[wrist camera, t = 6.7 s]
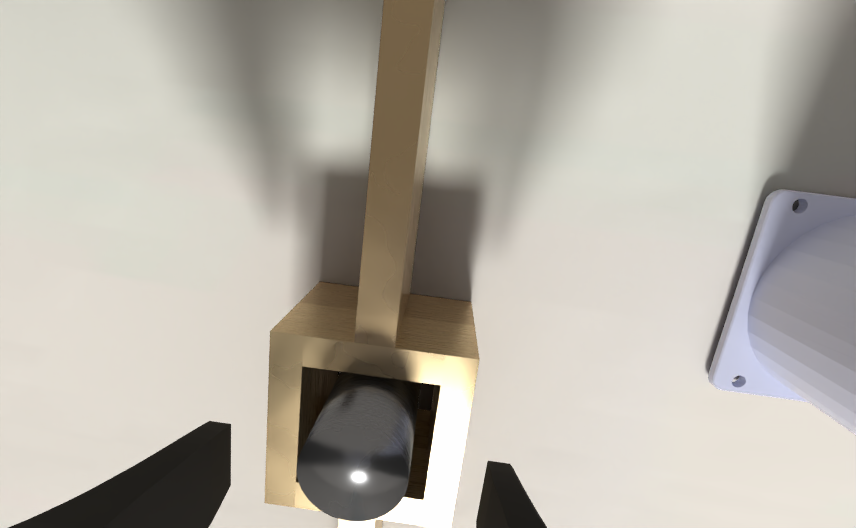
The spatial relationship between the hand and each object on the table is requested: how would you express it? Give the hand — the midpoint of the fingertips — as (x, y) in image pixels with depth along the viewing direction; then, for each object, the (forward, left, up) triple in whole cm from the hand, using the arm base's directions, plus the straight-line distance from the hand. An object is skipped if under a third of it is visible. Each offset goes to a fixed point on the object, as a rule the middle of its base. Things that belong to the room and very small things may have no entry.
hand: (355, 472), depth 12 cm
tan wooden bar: (0, 0, -7) cm, 7 cm away
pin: (0, 0, -7) cm, 7 cm away
